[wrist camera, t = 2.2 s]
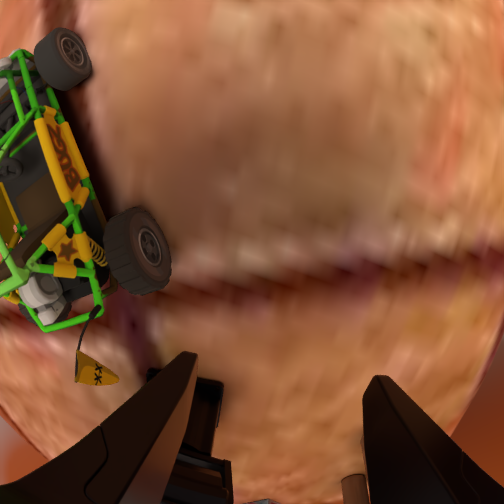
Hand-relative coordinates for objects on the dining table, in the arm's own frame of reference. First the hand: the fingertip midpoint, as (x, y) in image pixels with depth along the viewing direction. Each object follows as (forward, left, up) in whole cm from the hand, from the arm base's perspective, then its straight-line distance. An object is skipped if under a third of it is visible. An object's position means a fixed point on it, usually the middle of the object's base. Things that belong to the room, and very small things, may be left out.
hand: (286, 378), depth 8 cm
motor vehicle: (+15, -1, -13) cm, 20 cm away
